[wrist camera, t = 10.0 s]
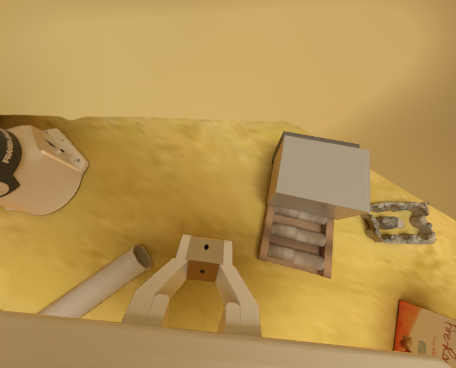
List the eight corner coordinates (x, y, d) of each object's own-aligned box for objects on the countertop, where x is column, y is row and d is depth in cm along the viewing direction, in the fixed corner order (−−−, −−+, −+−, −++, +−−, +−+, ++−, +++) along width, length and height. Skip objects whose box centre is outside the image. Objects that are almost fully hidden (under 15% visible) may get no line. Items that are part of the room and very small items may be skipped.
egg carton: (410, 205, 35) (432, 200, 31) (423, 244, 33) (448, 244, 29) (356, 204, 35) (371, 200, 32) (365, 243, 33) (382, 243, 29)
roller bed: (325, 276, 31) (358, 288, 23) (254, 257, 33) (261, 262, 24) (331, 166, 38) (359, 144, 30) (273, 155, 40) (283, 131, 31)
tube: (-3, 383, 25) (146, 274, 29) (-25, 354, 25) (127, 249, 29) (33, 350, 31) (155, 262, 34) (15, 327, 30) (139, 240, 34)
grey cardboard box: (337, 219, 31) (370, 212, 24) (266, 203, 33) (275, 192, 25) (339, 170, 34) (369, 150, 27) (274, 157, 36) (285, 135, 28)
